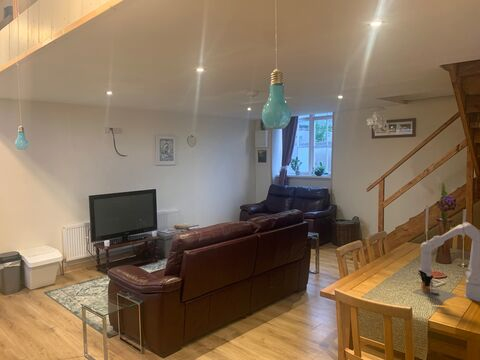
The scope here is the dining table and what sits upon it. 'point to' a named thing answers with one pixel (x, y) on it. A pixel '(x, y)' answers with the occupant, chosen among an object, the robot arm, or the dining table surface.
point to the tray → (436, 281)
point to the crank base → (439, 297)
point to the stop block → (425, 287)
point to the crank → (433, 289)
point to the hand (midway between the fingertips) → (425, 283)
